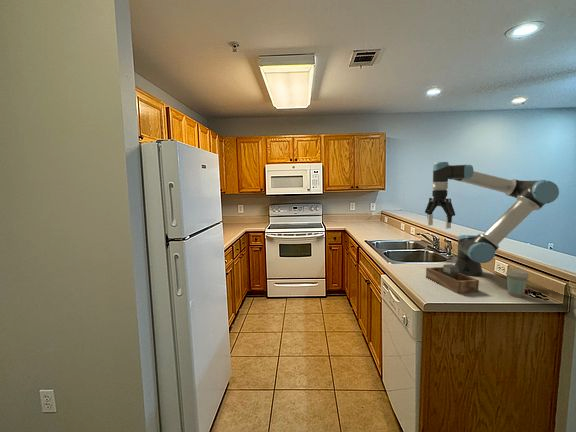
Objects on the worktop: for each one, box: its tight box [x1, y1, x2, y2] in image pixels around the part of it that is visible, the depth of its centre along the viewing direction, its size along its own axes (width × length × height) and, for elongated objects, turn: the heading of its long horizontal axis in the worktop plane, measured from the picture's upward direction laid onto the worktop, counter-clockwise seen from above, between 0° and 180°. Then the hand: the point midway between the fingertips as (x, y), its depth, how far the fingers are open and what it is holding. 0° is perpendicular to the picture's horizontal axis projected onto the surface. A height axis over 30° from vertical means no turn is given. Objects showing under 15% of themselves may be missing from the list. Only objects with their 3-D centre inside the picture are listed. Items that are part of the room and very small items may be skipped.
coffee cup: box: [505, 268, 530, 298], centre depth 135 cm, size 9×8×12 cm
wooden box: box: [425, 266, 480, 295], centre depth 151 cm, size 11×24×6 cm, turn 10°
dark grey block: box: [442, 263, 459, 280], centre depth 151 cm, size 5×5×10 cm
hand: (438, 226), depth 162 cm, fingers open, 13 cm apart
